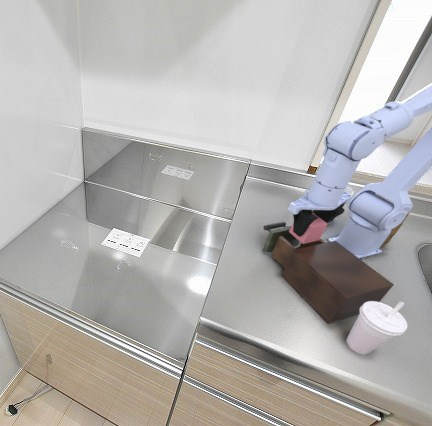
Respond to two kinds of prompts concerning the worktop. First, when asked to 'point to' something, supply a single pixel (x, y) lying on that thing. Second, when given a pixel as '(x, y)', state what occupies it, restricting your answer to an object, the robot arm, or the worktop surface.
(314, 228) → the block
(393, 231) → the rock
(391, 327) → the smoothie
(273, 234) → the drawer
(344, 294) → the cabinet
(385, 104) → the robot arm
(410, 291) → the worktop surface
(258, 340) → the worktop surface
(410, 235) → the worktop surface
